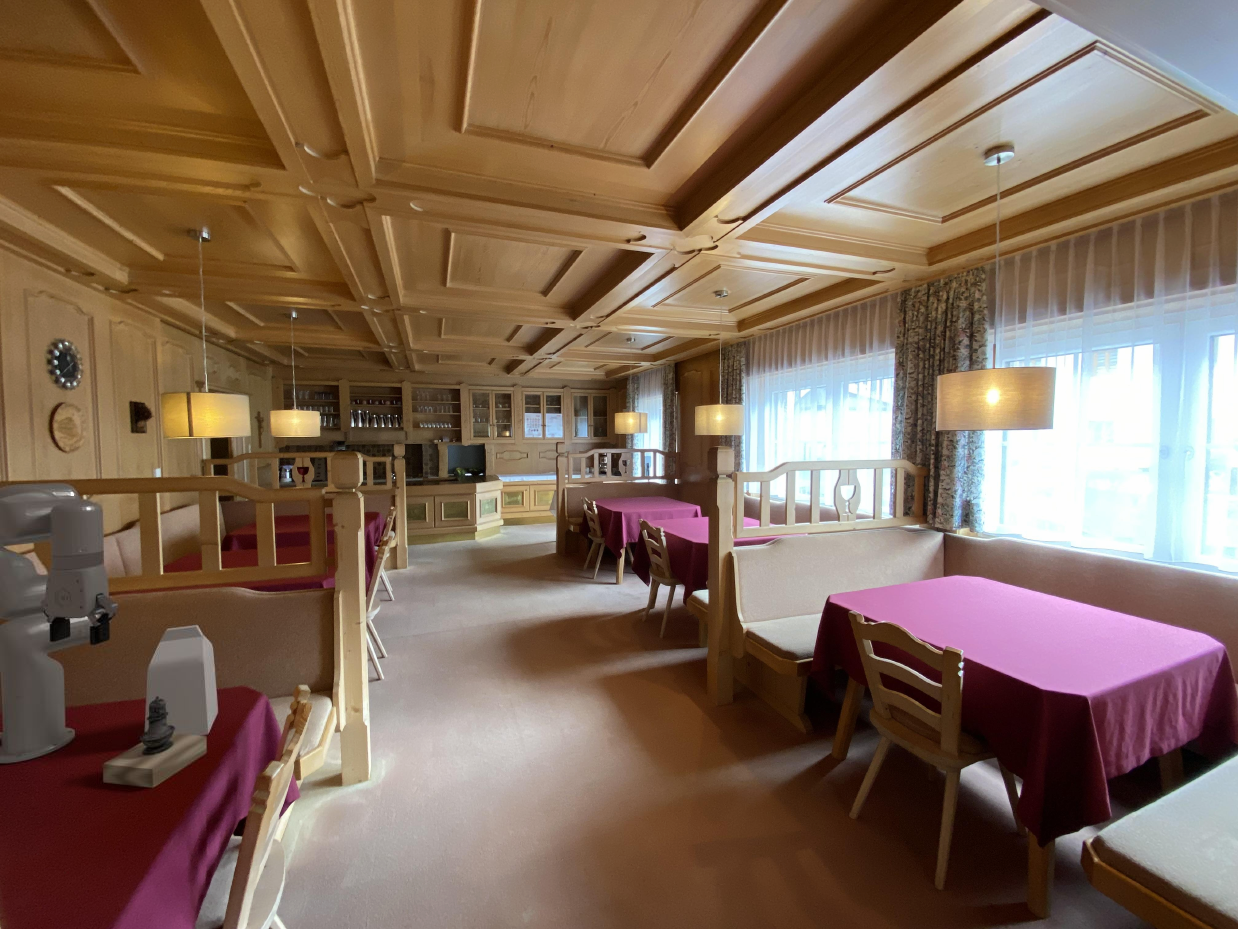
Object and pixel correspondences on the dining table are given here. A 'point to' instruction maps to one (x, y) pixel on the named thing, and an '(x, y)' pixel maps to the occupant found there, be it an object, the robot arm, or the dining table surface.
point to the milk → (184, 680)
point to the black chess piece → (157, 729)
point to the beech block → (154, 762)
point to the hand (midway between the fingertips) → (80, 641)
